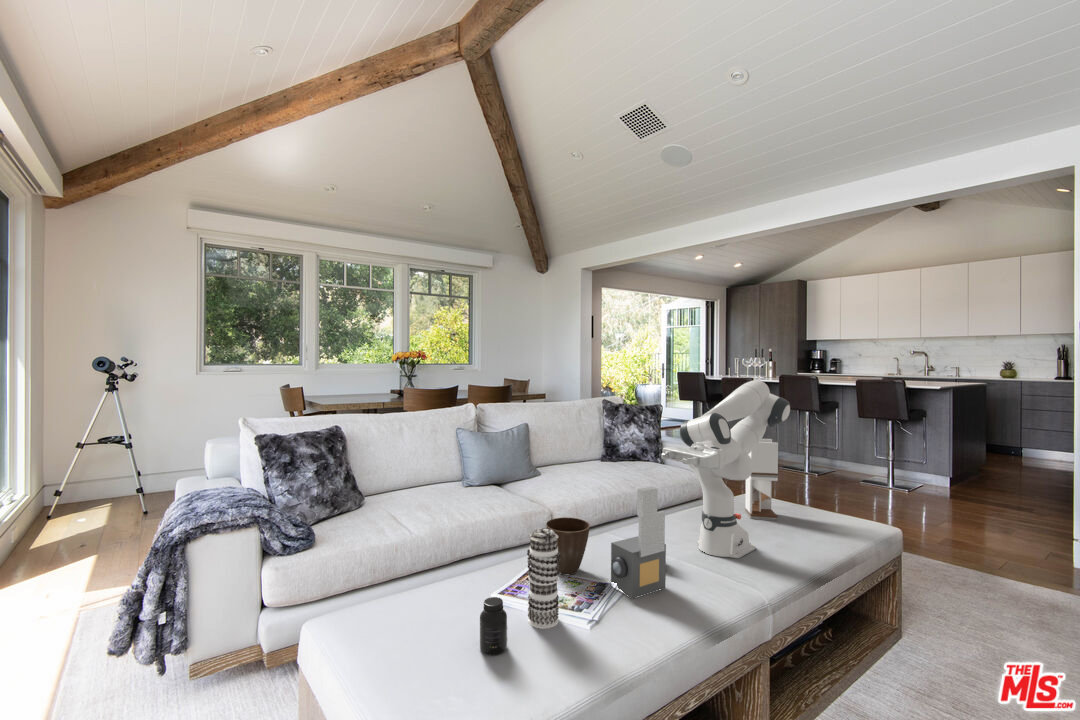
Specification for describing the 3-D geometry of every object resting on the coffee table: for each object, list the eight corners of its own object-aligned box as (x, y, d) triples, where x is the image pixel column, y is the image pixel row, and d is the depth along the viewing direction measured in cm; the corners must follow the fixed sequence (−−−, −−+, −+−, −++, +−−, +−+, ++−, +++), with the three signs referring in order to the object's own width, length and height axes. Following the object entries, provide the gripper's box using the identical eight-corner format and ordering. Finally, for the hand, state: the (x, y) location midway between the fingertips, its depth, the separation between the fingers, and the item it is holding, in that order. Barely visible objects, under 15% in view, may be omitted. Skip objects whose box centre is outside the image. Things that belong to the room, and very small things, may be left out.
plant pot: (595, 566, 181) (595, 521, 181) (580, 583, 168) (580, 534, 167) (556, 559, 187) (556, 515, 187) (538, 575, 174) (538, 527, 174)
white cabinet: (750, 518, 236) (751, 442, 235) (745, 511, 246) (746, 438, 246) (777, 520, 234) (778, 442, 234) (770, 513, 244) (771, 439, 244)
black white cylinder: (549, 633, 137) (549, 539, 137) (520, 623, 142) (520, 532, 142) (565, 618, 145) (566, 529, 145) (537, 609, 150) (538, 523, 150)
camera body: (643, 576, 173) (643, 534, 173) (665, 588, 164) (666, 544, 164) (605, 587, 165) (606, 543, 164) (627, 600, 156) (627, 554, 156)
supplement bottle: (480, 641, 133) (480, 595, 133) (506, 640, 134) (506, 594, 134) (479, 657, 126) (479, 608, 126) (507, 655, 127) (507, 607, 127)
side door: (660, 549, 164) (661, 485, 163) (666, 551, 162) (666, 486, 161) (636, 555, 158) (637, 489, 158) (642, 558, 156) (642, 490, 156)
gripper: (679, 441, 186) (650, 444, 179) (726, 450, 169) (697, 454, 161) (679, 458, 186) (650, 462, 179) (726, 469, 169) (697, 474, 161)
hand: (673, 458), depth 170 cm, fingers open, 8 cm apart
